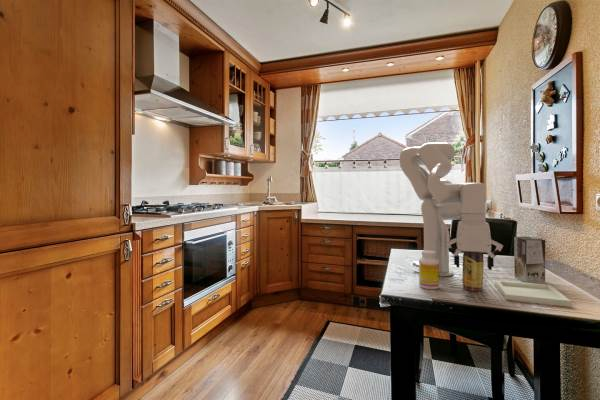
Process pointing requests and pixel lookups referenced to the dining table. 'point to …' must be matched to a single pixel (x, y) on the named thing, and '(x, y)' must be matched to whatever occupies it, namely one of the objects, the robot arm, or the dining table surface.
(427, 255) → the supplement bottle
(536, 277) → the coffee box
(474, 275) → the sauce bottle
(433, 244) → the robot arm
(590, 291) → the dining table surface
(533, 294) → the tray
